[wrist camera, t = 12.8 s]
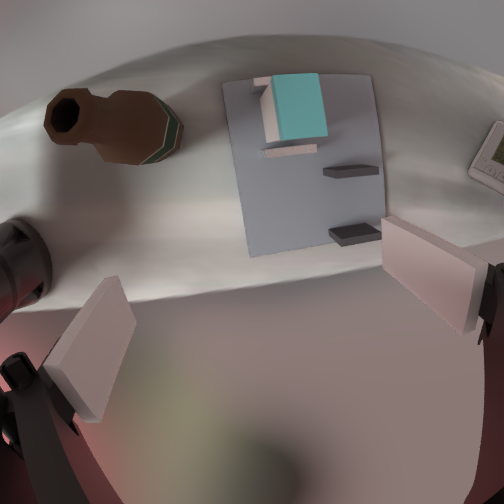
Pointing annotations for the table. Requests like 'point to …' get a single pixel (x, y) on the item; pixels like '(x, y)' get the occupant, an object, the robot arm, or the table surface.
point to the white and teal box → (293, 108)
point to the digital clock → (490, 160)
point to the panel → (306, 168)
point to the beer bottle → (115, 124)
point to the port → (259, 87)
